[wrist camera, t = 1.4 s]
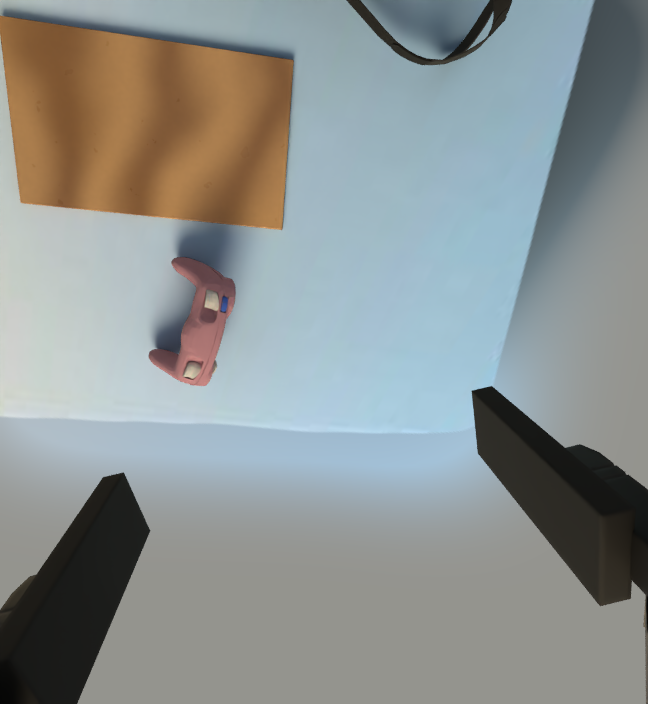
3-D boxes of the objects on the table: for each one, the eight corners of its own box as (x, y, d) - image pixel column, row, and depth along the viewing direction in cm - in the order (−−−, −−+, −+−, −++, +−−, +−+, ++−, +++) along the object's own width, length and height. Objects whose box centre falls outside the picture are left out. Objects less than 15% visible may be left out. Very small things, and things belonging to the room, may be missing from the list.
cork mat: (24, 203, 32) (20, 202, 31) (2, 18, 28) (-3, 14, 28) (282, 229, 34) (282, 229, 34) (293, 62, 31) (293, 59, 30)
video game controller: (195, 363, 39) (218, 400, 34) (144, 357, 36) (160, 397, 31) (223, 263, 36) (253, 286, 31) (171, 249, 34) (193, 272, 28)
